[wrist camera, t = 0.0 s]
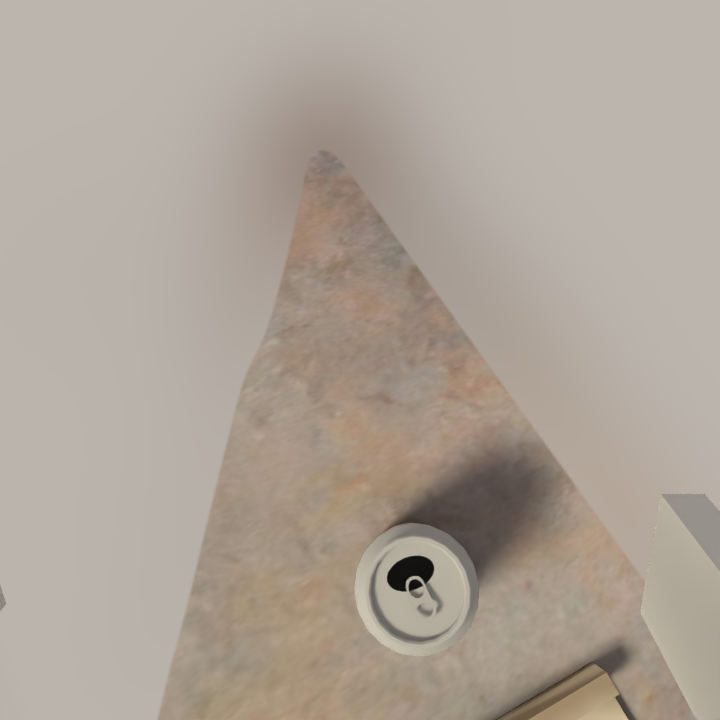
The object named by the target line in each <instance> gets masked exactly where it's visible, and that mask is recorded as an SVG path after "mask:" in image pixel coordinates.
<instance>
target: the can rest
mask: <svg viewBox="0 0 720 720" xmlns="http://www.w3.org/2000/svg"><path fill="white" fill-rule="evenodd" d="M617 695H619V692H618V691H617V689H616V687H615V686H614V684H613V682H612V681H611V679H610V677H609V676H608V674H607V672H605V671H604V670H603V669H601V668H600V667H599V666H597V665H596V664H595V663H593V662H591V663H590V664H588V665H586V666H585V667H583V668H581V669H580V670H578V671H576V672H575V673H573V674H571V675H570V676H568V677H566V678H565V679H563V680H561V681H560V682H558V683H556V684H555V685H553V686H551V687H550V688H548V689H546V690H545V691H543V692H542V693H540V694H538V695H537V696H535V697H533V698H532V699H530V700H528V701H527V702H525V703H523V704H522V705H520V706H518V707H517V708H515V709H513V710H512V711H510V712H508V713H507V714H505V715H503V716H502V717H500V718H498V719H497V720H628V718H627V717H626V715H625V713H624V712H623V710H622V708H621V707H620V705H619V703H618V702H617V700H616V698H615V697H616V696H617Z"/></svg>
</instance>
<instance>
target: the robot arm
mask: <svg viewBox="0 0 720 720" xmlns="http://www.w3.org/2000/svg"><path fill="white" fill-rule="evenodd" d="M5 605H6V602H5V599H4V596H3V593H2V590H1V586H0V611H1V609H2V608H3V607H4V606H5ZM640 613H641V615H642V617H643V619H644V621H645V622H646V624H647V626H648V628H649V630H650V632H651V634H652V636H653V638H654V640H655V642H656V643H657V645H658V647H659V649H660V651H661V653H662V655H663V657H664V659H665V661H666V663H667V665H668V666H669V668H670V670H671V672H672V674H673V676H674V678H675V680H676V682H677V684H678V686H679V687H680V689H681V691H682V693H683V695H684V697H685V699H686V701H687V703H688V705H689V707H690V708H691V710H692V712H693V714H694V716H695V718H696V720H720V511H719V510H718V509H717V508H716V507H715V506H714V505H713V503H712V502H711V501H710V500H709V499H708V498H707V496H706V495H705V494H661V498H660V503H659V509H658V515H657V521H656V526H655V533H654V538H653V543H652V549H651V555H650V560H649V566H648V572H647V577H646V583H645V589H644V594H643V600H642V606H641V611H640Z"/></svg>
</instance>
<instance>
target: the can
mask: <svg viewBox="0 0 720 720" xmlns="http://www.w3.org/2000/svg"><path fill="white" fill-rule="evenodd" d="M354 592H355V597H356V602H357V607H358V612H359V614H360V616H361V618H362V620H363V621H364V623H365V625H366V627H367V629H368V631H369V632H370V633H371V634H372V635H373V636H374V637H375V638H376V639H377V640H378V641H379V642H380V643H381V644H382V645H384V646H386V647H388V648H390V649H392V650H394V651H396V652H398V653H400V654H404V655H412V656H419V657H422V656H427V655H432V654H436V653H441V652H442V651H444V650H446V649H447V648H449V647H450V646H452V645H454V644H455V643H457V642H458V641H459V640H460V639H461V637H462V636H463V635H464V634H465V632H466V631H467V630H468V629H469V628H470V626H471V624H472V621H473V619H474V616H475V613H476V611H477V608H478V598H479V583H478V579H477V575H476V571H475V567H474V564H473V563H472V561H471V559H470V557H469V556H468V554H467V552H466V551H465V549H464V547H462V546H461V545H460V544H459V543H458V542H457V541H456V540H455V539H454V538H453V537H451V536H450V535H449V534H448V533H445V532H443V531H441V530H439V529H437V528H435V527H432V526H430V525H425V524H418V523H405V524H400V525H396V526H393V527H392V528H390V529H388V530H387V531H385V532H383V533H382V534H380V535H379V536H378V537H377V538H376V539H375V540H374V542H373V543H372V544H371V545H370V546H369V547H368V549H367V550H366V551H365V552H364V554H363V557H362V559H361V561H360V564H359V566H358V568H357V571H356V580H355V590H354Z"/></svg>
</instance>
